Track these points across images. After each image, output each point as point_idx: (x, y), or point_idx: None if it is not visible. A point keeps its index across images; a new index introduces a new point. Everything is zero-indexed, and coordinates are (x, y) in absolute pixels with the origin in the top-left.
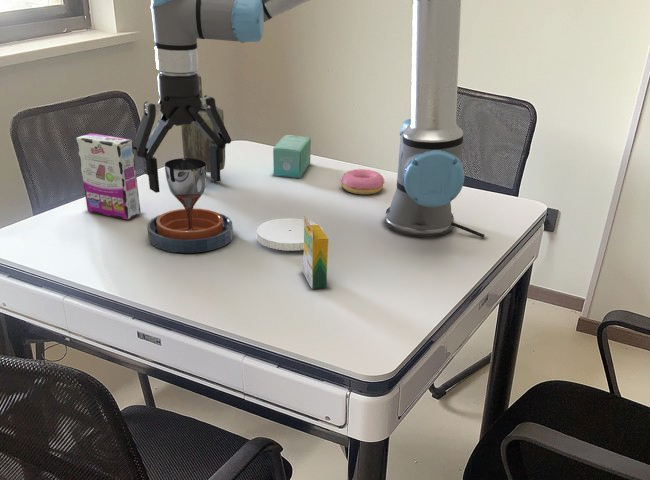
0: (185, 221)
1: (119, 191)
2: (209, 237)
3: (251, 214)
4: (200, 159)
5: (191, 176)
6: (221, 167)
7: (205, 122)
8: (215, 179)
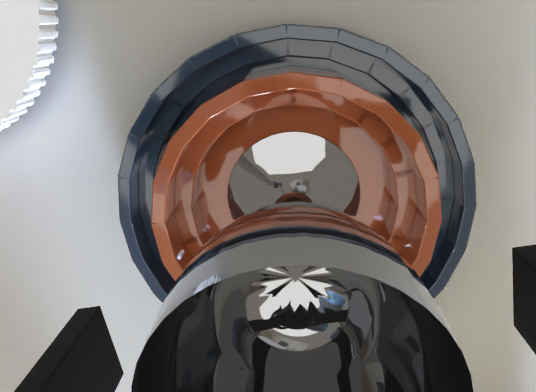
0: None
1: None
2: (267, 34)
3: (20, 314)
4: None
5: (309, 236)
6: None
7: None
8: (103, 329)
